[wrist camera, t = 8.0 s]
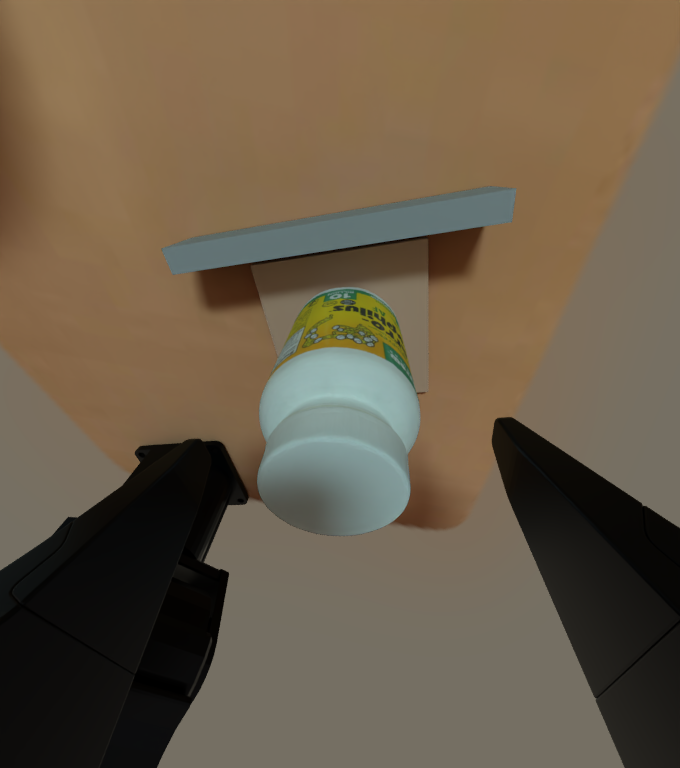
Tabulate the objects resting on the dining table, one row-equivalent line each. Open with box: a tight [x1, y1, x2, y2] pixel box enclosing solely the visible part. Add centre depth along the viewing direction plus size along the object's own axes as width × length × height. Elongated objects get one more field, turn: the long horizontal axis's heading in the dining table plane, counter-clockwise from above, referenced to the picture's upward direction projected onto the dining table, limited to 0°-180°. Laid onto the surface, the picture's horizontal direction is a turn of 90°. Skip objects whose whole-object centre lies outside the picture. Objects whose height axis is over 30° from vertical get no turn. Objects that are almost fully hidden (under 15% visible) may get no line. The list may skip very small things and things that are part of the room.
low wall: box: [162, 186, 516, 275], centre depth 13 cm, size 1×13×2 cm, turn 99°
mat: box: [250, 237, 428, 393], centre depth 16 cm, size 8×8×1 cm
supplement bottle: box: [257, 287, 420, 536], centre depth 12 cm, size 5×5×10 cm
